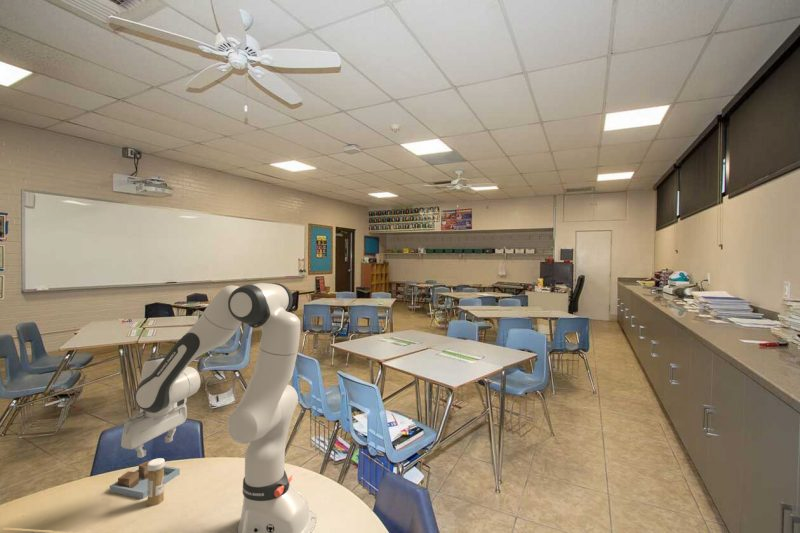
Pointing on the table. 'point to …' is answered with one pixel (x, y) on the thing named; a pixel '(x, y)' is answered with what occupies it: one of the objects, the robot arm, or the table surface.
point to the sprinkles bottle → (155, 481)
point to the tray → (143, 484)
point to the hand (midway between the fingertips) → (155, 448)
